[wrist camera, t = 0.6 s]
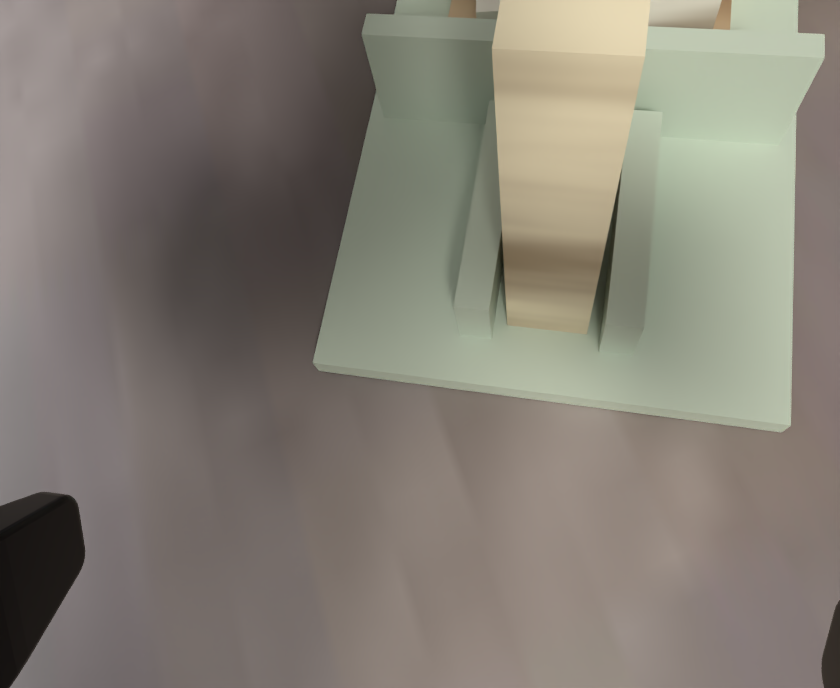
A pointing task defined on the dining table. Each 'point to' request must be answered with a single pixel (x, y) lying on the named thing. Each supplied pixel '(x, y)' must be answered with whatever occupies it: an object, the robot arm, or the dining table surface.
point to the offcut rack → (627, 237)
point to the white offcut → (669, 7)
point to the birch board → (562, 146)
